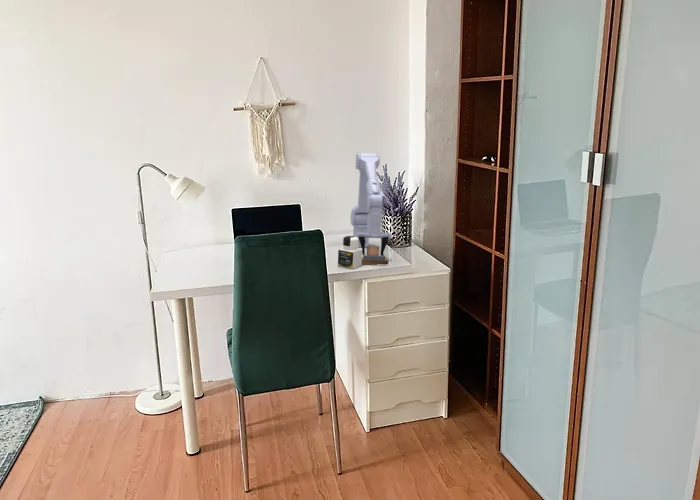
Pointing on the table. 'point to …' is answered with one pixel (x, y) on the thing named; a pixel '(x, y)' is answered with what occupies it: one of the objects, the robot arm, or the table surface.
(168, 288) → the table surface
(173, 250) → the table surface
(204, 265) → the table surface
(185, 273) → the table surface
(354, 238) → the medicine bottle
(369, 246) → the terracotta jar
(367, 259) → the plate
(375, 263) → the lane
